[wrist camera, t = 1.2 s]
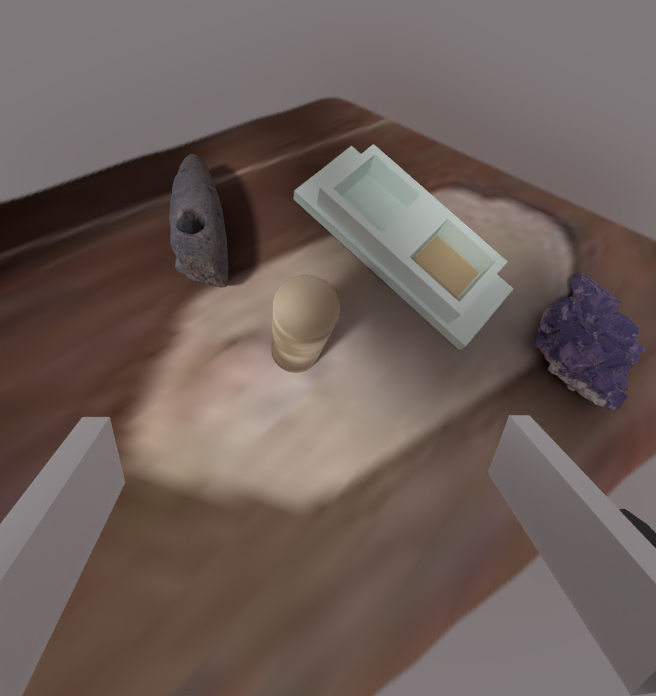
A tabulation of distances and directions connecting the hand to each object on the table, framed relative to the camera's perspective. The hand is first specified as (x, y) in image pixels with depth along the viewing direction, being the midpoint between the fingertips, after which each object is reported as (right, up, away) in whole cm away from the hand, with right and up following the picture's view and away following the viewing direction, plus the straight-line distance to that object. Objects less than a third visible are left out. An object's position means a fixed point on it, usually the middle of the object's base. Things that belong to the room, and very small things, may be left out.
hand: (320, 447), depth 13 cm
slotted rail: (+9, +15, +32) cm, 36 cm away
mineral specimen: (+30, +4, +32) cm, 44 cm away
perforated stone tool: (-13, +15, +28) cm, 35 cm away
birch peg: (-3, +3, +26) cm, 27 cm away
